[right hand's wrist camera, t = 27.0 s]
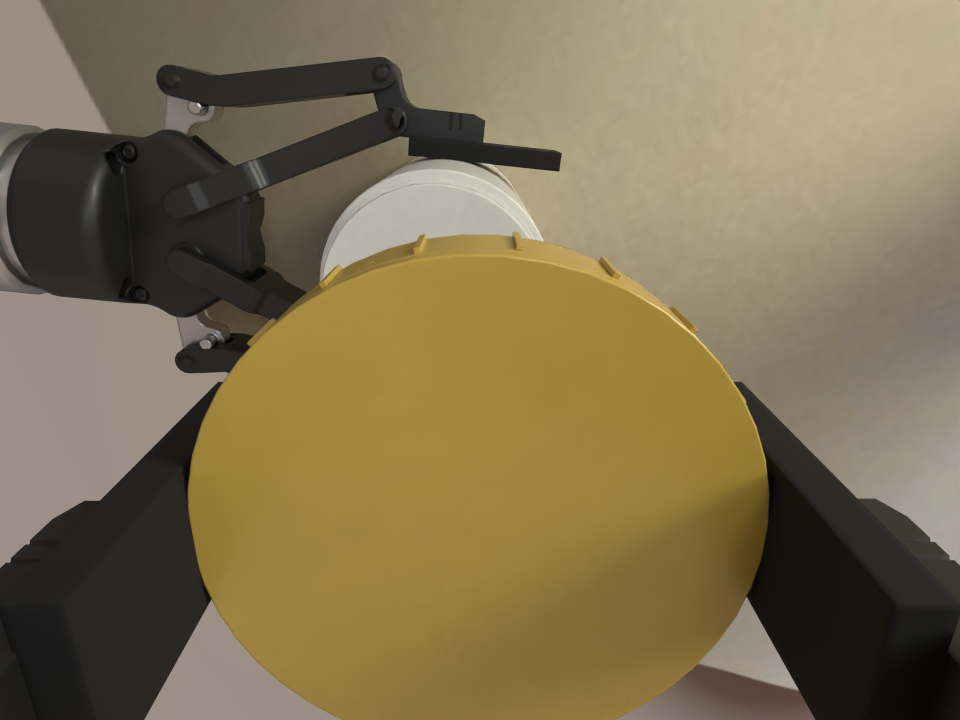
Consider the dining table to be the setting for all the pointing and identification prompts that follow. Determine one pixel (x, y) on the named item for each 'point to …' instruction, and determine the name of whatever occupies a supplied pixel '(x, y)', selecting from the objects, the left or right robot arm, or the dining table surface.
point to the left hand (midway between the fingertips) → (542, 262)
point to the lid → (478, 488)
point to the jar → (427, 210)
